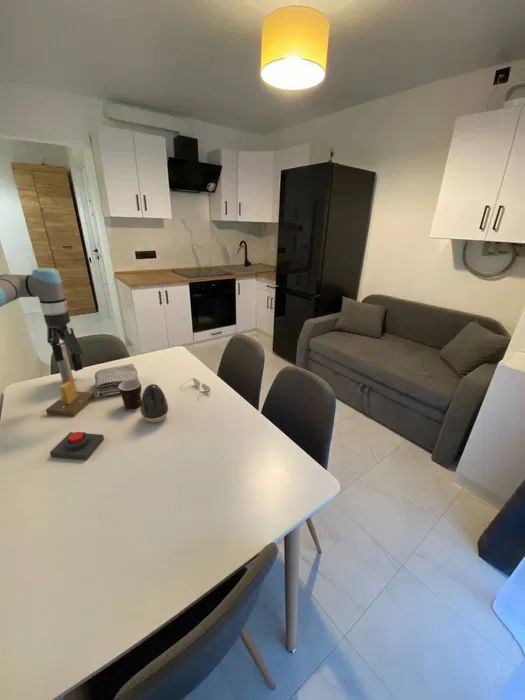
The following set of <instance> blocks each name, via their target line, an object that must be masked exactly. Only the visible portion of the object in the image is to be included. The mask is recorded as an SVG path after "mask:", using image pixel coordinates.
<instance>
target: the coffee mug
mask: <svg viewBox="0 0 525 700" xmlns="http://www.w3.org/2000/svg"><path fill="white" fill-rule="evenodd" d="M139 380H140V379H139ZM139 380H127V381H124V382H122V383H120V384H119V386H118V387H119V390H120V393H119V394H120V396H121V400H122V402H123V405H124V408H125V409H126V410H129V411H131V410H137V409H138V408H141V401H142V385H141V384H142V382H141V380H140V381H139Z"/></svg>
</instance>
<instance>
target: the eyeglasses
mask: <svg viewBox="0 0 525 700" xmlns="http://www.w3.org/2000/svg"><path fill="white" fill-rule="evenodd" d="M191 380H192V382H193V384H194V386H196V385H197V386H196V387H198V386H199V387H198V388H200V387H201V388H202V389H203V391H205V390H206V391H207V392H206V391H205V392H204V393H203V394H201V395H199V396H198V398H197V400H196V401H198V400H199V398H200V397H202V396H203V395H205V394H206V393H208V392H209V393H208V394H210V392H211V387H210V386H209V385H207V384H205V383H202V382H201V381H200V380H199V379H197V378H195V377H193V378H191V379H189V380H188V381H186V382H184V383H183V384H181V386H180V387H179V389H181V388H182V386H183V385H185V384H186V383H188V382H190V381H191Z"/></svg>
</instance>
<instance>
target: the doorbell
mask: <svg viewBox="0 0 525 700" xmlns="http://www.w3.org/2000/svg"><path fill="white" fill-rule="evenodd" d="M81 432H82V434H83V437H84V438H83V440H82V441H80V442H79V443H75V444H71V443H70V441H69V436H70V435H71V434H72V433H75V432H74V431H70V432H68V434H67V435H66V436H65V437H64V438H62V440H61V441H60V442H59V443H57V445H56V446H55V447H53V449H52V450H50V452H49V454H50V457H51V458H53V459H66V460H79V461H88V460H89V459H90V457H91V456H92V455H93V454H94V453H95V451H96V450H97V449H98V448H99V446H100V445H101V444H102V443H103V442H104V441H105V437H104V434H98V433H87V432H85V431H84V432H83V431H81Z"/></svg>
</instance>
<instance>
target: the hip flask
mask: <svg viewBox="0 0 525 700" xmlns="http://www.w3.org/2000/svg"><path fill="white" fill-rule="evenodd" d="M59 345H60V346H61V350H62V354H63V358H64V360H61V361H58V362H56V363H57V366H58V370H59V373H60V378H61V381H62V385H63V384H65V383H66V382H67V381H68V380H73V381H74V375H73V372H72V368H71V363H70V359H69V355H68V352H67V348H66V347H67V346H66V344H59Z"/></svg>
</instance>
